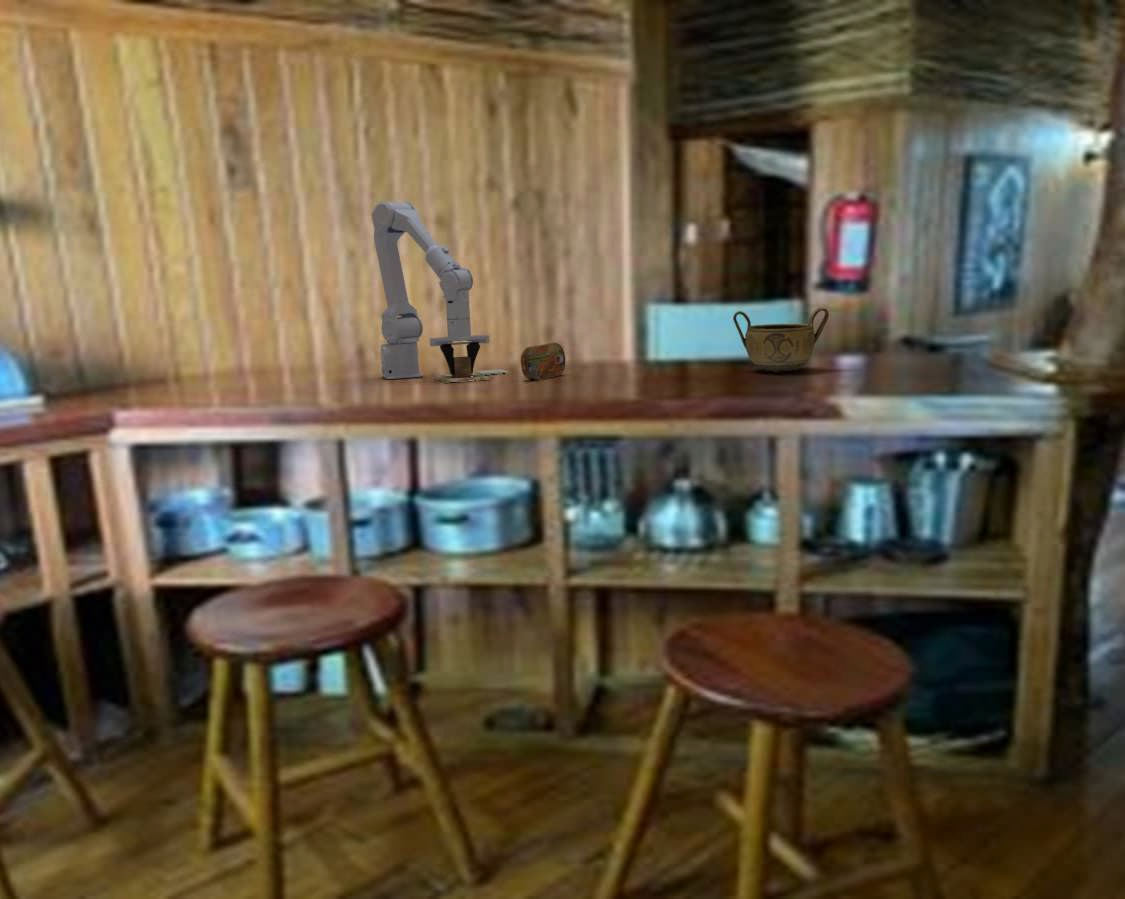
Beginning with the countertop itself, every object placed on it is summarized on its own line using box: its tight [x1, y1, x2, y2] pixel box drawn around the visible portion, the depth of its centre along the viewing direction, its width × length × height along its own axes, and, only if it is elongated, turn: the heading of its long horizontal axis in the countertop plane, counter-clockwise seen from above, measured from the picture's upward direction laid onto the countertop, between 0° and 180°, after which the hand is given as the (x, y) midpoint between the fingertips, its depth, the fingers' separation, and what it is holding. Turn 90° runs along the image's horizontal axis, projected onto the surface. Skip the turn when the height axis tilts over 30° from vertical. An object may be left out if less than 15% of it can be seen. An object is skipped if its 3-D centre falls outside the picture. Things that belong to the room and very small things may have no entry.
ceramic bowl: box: [732, 307, 830, 373], centre depth 236 cm, size 22×17×15 cm
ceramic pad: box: [475, 368, 510, 376], centre depth 256 cm, size 7×7×1 cm
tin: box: [520, 342, 566, 381], centre depth 241 cm, size 15×3×8 cm, turn 143°
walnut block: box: [452, 356, 471, 379], centre depth 244 cm, size 4×4×6 cm
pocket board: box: [434, 372, 490, 384], centre depth 245 cm, size 11×12×1 cm
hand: (461, 373), depth 244 cm, fingers closed on walnut block, 4 cm apart
